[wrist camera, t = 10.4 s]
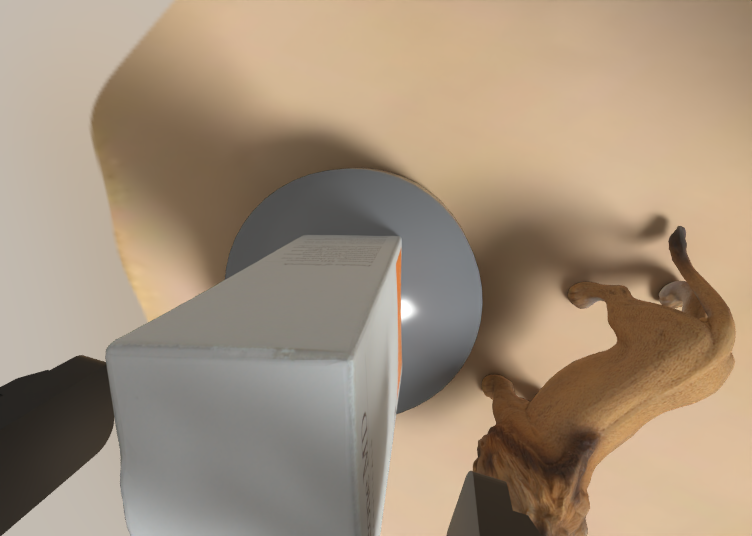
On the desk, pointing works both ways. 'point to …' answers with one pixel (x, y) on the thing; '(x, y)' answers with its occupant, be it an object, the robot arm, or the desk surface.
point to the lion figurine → (606, 394)
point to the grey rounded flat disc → (418, 261)
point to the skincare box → (266, 397)
